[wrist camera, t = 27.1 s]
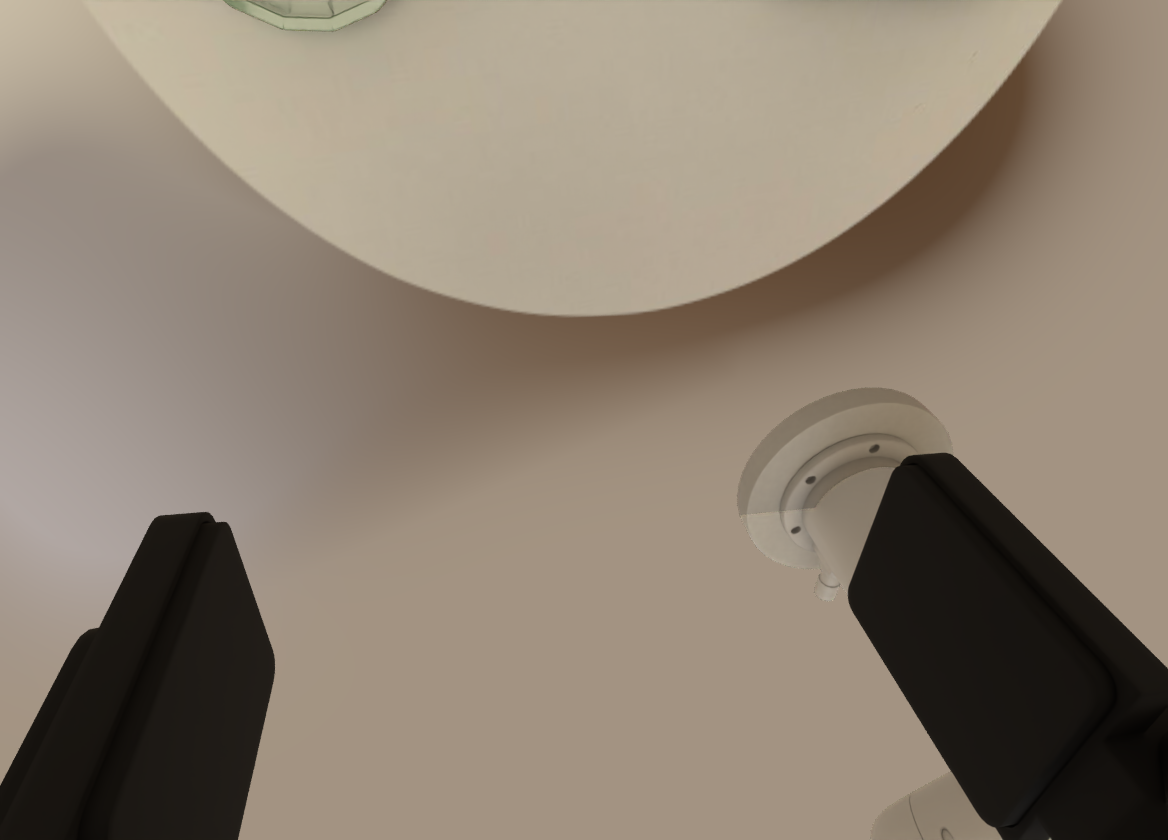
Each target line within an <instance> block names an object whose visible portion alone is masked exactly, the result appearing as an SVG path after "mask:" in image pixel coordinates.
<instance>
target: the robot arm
mask: <svg viewBox="0 0 1168 840" xmlns="http://www.w3.org/2000/svg"><path fill="white" fill-rule="evenodd" d="M780 518H781V522H782V525H783V527H784V530H785V531H786V533H787V534H788V536H789V537H790V539H791V540H792V541H793V542H794V543H795V544H796V545H797V546H799V547H801V548H803V549H805V550H807V551H811V552H814V553H816V554H817V555H818V557H819V558H820V563H819V566H820V569H821V574H820V575H819V577H818V579H817V582H816V585H815V589H814V593H815V594H816V596H817V597H819V598H820V599H821V600H824V601H832V600H834V599H835V597H836V595H837V592H838V589H839V587H840V585H841V586H842V587H843V589H844V591H845V593H846V594H847V596H848V600H849V604H850V607H851V609H852V611H853V613H854V615H855V616H856V618H857V619H858V621H859V623H860V625H861V626H862V628H863V629H864V631H865V633H866V634H867V636H868V637H869V639H870V641H871V642H872V644H873V646H874V647H875V649H876V650H877V652H878V653H879V655H880V657H881V658H882V660H883V662H884V663H885V665H886V666H887V668H888V670H889V671H890V673H891V675H892V676H893V678H894V679H895V681H896V683H897V684H898V686H899V688H900V689H901V691H902V692H903V694H904V696H905V697H906V699H907V701H908V702H909V704H910V705H911V707H912V709H913V710H914V712H915V714H916V715H917V717H918V718H919V720H920V721H921V723H922V725H923V726H924V728H925V730H926V731H927V733H928V734H929V736H930V738H931V739H932V741H933V743H934V744H935V746H936V748H937V749H938V751H939V752H940V754H941V755H942V757H943V759H944V760H945V762H946V764H947V765H948V767H949V769H950V770H951V771H950V772H948V773H947V774H945V775H943V776H941V777H939V778H937V779H936V780H934V781H932V782H930V783H928V784H927V785H925V786H923V787H921V788H919V789H917V790H915V791H914V792H912V793H910V794H909V795H907V796H905V797H903V798H901V799H900V800H898V801H897V802H895V803H894V804H892V805H890V806H889V807H888V808H886V809H885V810H884V811H883V812H882V813H881V814H880V815H879V816H878V817H877V819H876V820H875V822H874V824H873V827H872V830H871V836H870V840H1168V669H1167V667H1166V666H1165V665H1164V664H1163V663H1162V662H1161V661H1160V660H1159V659H1158V658H1157V657H1155V655H1154V654H1153V653H1152V652H1151V651H1150V650H1149V649H1148V648H1146V647H1145V645H1144V644H1142V642H1141V641H1140V640H1139V639H1138V638H1137V637H1136V636H1135V635H1134V634H1132V632H1130V630H1128V629H1127V627H1126V626H1124V625H1123V623H1122V622H1120V621H1119V619H1117V618H1116V617H1115V616H1114V615H1113V614H1112V613H1111V612H1110V611H1109V610H1108V609H1107V608H1106V607H1105V606H1104V605H1103V604H1102V603H1101V602H1100V601H1099V600H1098V599H1097V598H1096V597H1095V596H1094V595H1093V594H1092V593H1091V592H1090V591H1089V590H1088V589H1087V588H1086V587H1085V586H1084V585H1083V584H1082V583H1081V582H1080V581H1079V580H1078V579H1077V578H1076V577H1075V576H1074V575H1073V574H1072V573H1071V572H1070V571H1069V570H1068V569H1067V568H1066V567H1065V566H1064V565H1063V564H1062V563H1061V562H1060V561H1059V560H1058V559H1057V558H1056V557H1055V556H1054V555H1053V554H1052V553H1051V552H1050V551H1049V550H1048V549H1047V548H1046V547H1045V546H1044V545H1043V544H1042V543H1041V542H1040V541H1039V540H1038V539H1037V538H1036V537H1035V536H1034V535H1033V534H1032V533H1031V532H1030V531H1029V530H1028V529H1027V528H1026V527H1025V526H1024V525H1023V524H1022V523H1021V522H1020V521H1019V520H1018V519H1017V518H1016V517H1015V516H1014V515H1013V514H1012V513H1011V512H1010V511H1009V510H1008V509H1007V508H1006V507H1005V506H1004V505H1003V504H1002V503H1001V502H1000V501H999V500H998V499H997V498H996V497H995V496H994V495H993V494H992V493H991V492H990V491H989V490H988V489H987V488H986V487H985V486H984V485H983V484H982V483H981V482H980V481H979V480H978V479H977V478H976V477H975V476H974V475H973V474H972V473H971V472H970V471H969V470H968V469H967V468H966V467H965V466H964V465H963V464H962V463H961V462H960V461H959V460H958V459H957V458H956V457H954V456H953V455H951V454H948V453H935V454H923V455H920V454H919V453H918V452H917V451H916V450H915V449H914V447H913V446H912V445H910V444H909V443H907V442H906V441H905V440H903V439H900V438H898V437H895V436H891V435H884V434H868V435H863V436H857V437H853V438H850V439H847V440H844V441H841V442H839V443H837V444H835V445H833V446H831V447H829V448H827V449H825V450H823V451H822V452H820V453H819V454H817V455H816V456H814V457H813V458H812V459H811V460H809V461H808V462H807V463H806V464H805V465H804V466H803V467H802V468H801V469H800V470H799V471H798V472H797V473H796V475H795V476H794V477H793V478H792V480H791V481H790V483H789V485H788V486H787V488H786V490H785V492H784V495H783V498H782V500H781V506H780ZM274 674H275V659H274V653H273V649H272V647H271V644H270V641H269V638H268V635H267V632H266V629H265V626H264V623H263V620H262V618H261V615H260V612H259V609H258V606H257V603H256V600H255V597H254V594H253V591H252V589H251V586H250V583H249V580H248V577H247V574H246V571H245V569H244V565H243V562H242V560H241V557H240V554H239V551H238V548H237V545H236V543H235V540H234V537H233V533H232V531H231V528H230V526H229V525H228V523H227V522H217V523H216V522H215V520H214V518H213V516H212V515H211V514H210V513H208V512H199V513H187V514H175V515H163V516H158V517H156V518H155V519H154V520H153V521H152V523H151V525H150V526H149V528H148V530H147V532H146V534H145V536H144V538H143V540H142V542H141V545H140V547H139V549H138V550H137V552H136V554H135V556H134V558H133V560H132V563H131V564H130V566H129V569H128V571H127V573H126V575H125V577H124V579H123V581H122V583H121V585H120V587H119V589H118V591H117V593H116V595H115V597H114V599H113V601H112V603H111V605H110V607H109V609H108V611H107V613H106V615H105V617H104V619H103V621H102V623H101V625H100V627H99V628H95V629H90V630H88V631H87V632H85V633H84V634H83V635H82V636H80V637H79V639H78V640H77V642H76V643H75V645H74V646H73V648H72V649H71V651H70V653H69V655H68V657H67V659H66V660H65V662H64V664H63V666H62V668H61V670H60V672H59V674H58V676H57V678H56V680H55V682H54V683H53V685H52V687H51V689H50V691H49V693H48V695H47V697H46V699H45V701H44V703H43V705H42V707H41V708H40V711H39V713H38V714H37V716H36V718H35V720H34V722H33V724H32V726H31V728H30V730H29V731H28V733H27V735H26V737H25V739H24V741H23V743H22V745H21V747H20V749H19V751H18V753H17V754H16V756H15V758H14V760H13V762H12V764H11V766H10V768H9V770H8V772H7V774H6V776H5V778H4V779H3V781H2V783H1V785H0V840H238V837H239V832H240V828H241V823H242V819H243V814H244V810H245V806H246V801H247V796H248V792H249V788H250V782H251V779H252V774H253V770H254V766H255V761H256V757H257V752H258V748H259V743H260V739H261V734H262V730H263V725H264V721H265V717H266V712H267V708H268V703H269V699H270V694H271V690H272V685H273V681H274Z"/></svg>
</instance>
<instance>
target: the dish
mask: <svg viewBox="0 0 1168 840" xmlns="http://www.w3.org/2000/svg"><path fill="white" fill-rule="evenodd" d="M224 1H225V2H226V3H227V4H228V5H229V6H231V7H232V8H234V9H236V10H239V11H241V12H243V13H246V14H248V15H250V16H252V17H255V18H257V19H259V20H261V21H264V22H266V23H268V24H270V25H273V26H275V27H277V28H280V29H282V30H283V29H284V30H292V31H328V32H333V31H337V30H339V29H341V28H343V27H346V26H348V25H350V24H352V23H354V22H357V21H359V20H361V19H363V18H365V17H367V16H370V15H372V14H374V13H376V12H377V11H379V10H380V9H381V7H382V6H383V5H384V4H385V3H386V1H387V0H224Z"/></svg>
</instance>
